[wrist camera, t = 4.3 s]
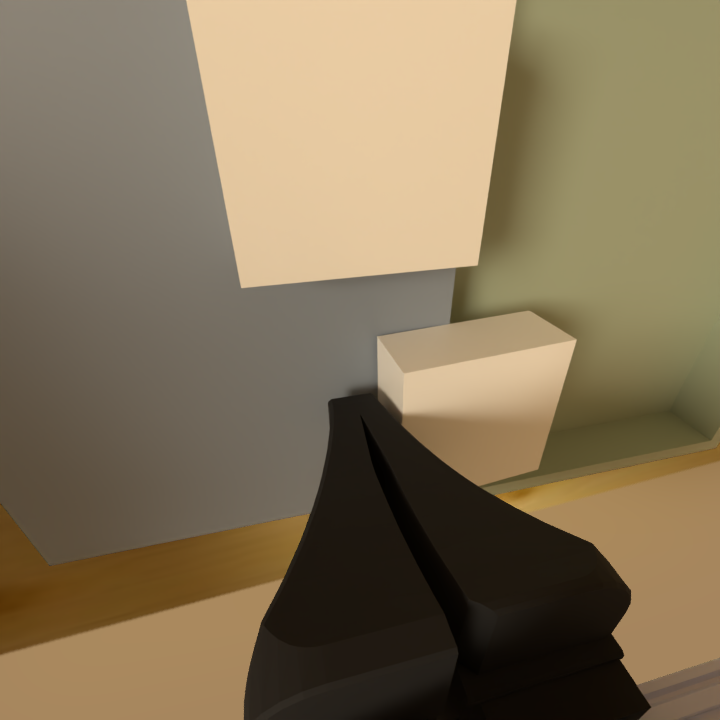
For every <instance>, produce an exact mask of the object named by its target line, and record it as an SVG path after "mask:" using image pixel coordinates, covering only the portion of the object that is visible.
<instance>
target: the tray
mask: <svg viewBox="0 0 720 720" xmlns="http://www.w3.org/2000/svg"><path fill="white" fill-rule="evenodd" d="M523 311H531V312H533V313H534V314H536V315H538V316H539V317H541V318H543V319H544V320H546V321H547V322H549V323H551V324H552V325H554V326H556V327H557V328H559V329H560V330H562V331H564V332H565V333H567V334H569V335H570V336H572V337H574V338H575V339H577V341H576V344H575V347H574V351H573V354H572V358H571V361H570V364H569V368H568V371H567V374H566V378H565V381H564V384H563V388H562V391H561V394H560V398H559V401H558V404H557V408H556V411H555V414H554V418H553V421H552V424H551V428H550V431H549V434H548V438H547V441H546V445H545V448H544V451H543V455H542V458H541V461H540V465H539V468H538V470H534V471H531V472H527V473H524V474H520V475H517V476H513V477H509V478H506V479H502V480H499V481H495V482H491V483H488V484H484V485H481V486H479V487H480V488H482V489H484V490H486V491H487V492H489V493H491V494H492V495H496V494H501V493H506V492H511V491H515V490H520V489H525V488H530V487H534V486H539V485H544V484H548V483H553V482H558V481H563V480H567V479H572V478H577V477H582V476H586V475H591V474H596V473H600V472H605V471H610V470H615V469H619V468H624V467H629V466H634V465H638V464H643V463H648V462H652V461H657V460H662V459H667V458H671V457H676V456H681V455H686V454H690V453H695V452H700V451H704V450H709V449H714V448H716V447H717V446H718V444H719V442H720V0H517V1H516V7H515V14H514V21H513V28H512V35H511V42H510V48H509V55H508V62H507V69H506V76H505V83H504V89H503V96H502V103H501V110H500V117H499V124H498V130H497V137H496V144H495V151H494V158H493V164H492V171H491V178H490V185H489V192H488V199H487V205H486V212H485V219H484V226H483V233H482V240H481V246H480V253H479V260H478V265H477V266H467V267H456V272H455V281H454V289H453V298H452V307H451V315H450V324H453V323H459V322H464V321H470V320H476V319H482V318H488V317H494V316H500V315H505V314H511V313H517V312H523Z"/></svg>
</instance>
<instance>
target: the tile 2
mask: <svg viewBox="0 0 720 720" xmlns="http://www.w3.org/2000/svg"><path fill="white" fill-rule="evenodd" d="M576 341H577V339H575V338H574V337H572V336H570V335H569V334H567V333H565V332H564V331H562V330H560V329H559V328H557V327H556V326H554V325H552V324H551V323H549V322H547V321H546V320H544V319H543V318H541V317H539V316H538V315H536V314H534V313H533V312H531V311H523V312H517V313H511V314H505V315H500V316H494V317H488V318H482V319H476V320H470V321H464V322H459V323H453V324H447V325H441V326H435V327H429V328H424V329H418V330H412V331H406V332H400V333H394V334H388V335H383V336H377V358H378V401H379V402H380V403H381V404H382V405H383V406H384V407H385V408H386V409H387V411H388V412H389V413H390V414H391V415H392V416H393V417H394V418H395V419H396V420H397V421H398V422H399V423H400V424H401V425H402V426H403V427H404V428H405V429H406V430H407V431H408V432H410V433H411V434H412V435H413V436H414V437H415V438H416V439H417V440H418V441H419V442H420V443H422V444H423V445H424V446H425V447H426V448H427V449H428V450H430V451H431V452H432V453H433V454H434V455H436V456H437V457H438V458H439V459H441V460H442V461H443V462H444V463H446V464H447V465H448V466H450V467H451V468H452V469H454V470H455V471H457V472H458V473H459V474H461V475H462V476H464V477H465V478H467V479H468V480H470V481H471V482H473V483H474V484H476V485H477V486H481V485H484V484H488V483H491V482H495V481H499V480H502V479H506V478H509V477H513V476H517V475H520V474H524V473H527V472H531V471H534V470H538V468H539V465H540V461H541V458H542V455H543V451H544V448H545V445H546V441H547V438H548V434H549V431H550V428H551V424H552V421H553V418H554V414H555V411H556V408H557V404H558V401H559V398H560V394H561V391H562V388H563V384H564V381H565V378H566V374H567V371H568V368H569V364H570V361H571V358H572V354H573V351H574V347H575V344H576Z"/></svg>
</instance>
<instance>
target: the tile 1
mask: <svg viewBox="0 0 720 720" xmlns="http://www.w3.org/2000/svg"><path fill="white" fill-rule="evenodd" d="M516 1H517V0H186V2H187V7H188V13H189V18H190V23H191V28H192V33H193V39H194V44H195V49H196V54H197V60H198V65H199V70H200V75H201V81H202V86H203V91H204V96H205V102H206V107H207V112H208V117H209V122H210V128H211V133H212V138H213V143H214V149H215V154H216V159H217V164H218V170H219V175H220V180H221V185H222V191H223V196H224V201H225V206H226V211H227V217H228V222H229V227H230V232H231V238H232V243H233V248H234V253H235V259H236V264H237V269H238V274H239V279H240V285H241V288H248V287H258V286H269V285H279V284H289V283H300V282H310V281H321V280H331V279H342V278H352V277H362V276H373V275H383V274H394V273H404V272H414V271H425V270H435V269H446V268H456V267H467V266H477V265H478V260H479V253H480V246H481V240H482V233H483V226H484V219H485V212H486V205H487V199H488V192H489V185H490V178H491V171H492V164H493V158H494V151H495V144H496V137H497V130H498V124H499V117H500V110H501V103H502V96H503V89H504V83H505V76H506V69H507V62H508V55H509V48H510V42H511V35H512V28H513V21H514V14H515V7H516Z"/></svg>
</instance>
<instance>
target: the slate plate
mask: <svg viewBox="0 0 720 720" xmlns="http://www.w3.org/2000/svg"><path fill="white" fill-rule="evenodd" d="M455 272H456V268H446V269H435V270H425V271H414V272H404V273H394V274H383V275H373V276H362V277H352V278H342V279H331V280H321V281H310V282H300V283H289V284H279V285H269V286H258V287H248V288H241V285H240V279H239V274H238V269H237V264H236V259H235V253H234V248H233V243H232V238H231V232H230V227H229V222H228V217H227V211H226V206H225V201H224V196H223V191H222V185H221V180H220V175H219V170H218V164H217V159H216V154H215V149H214V143H213V138H212V133H211V128H210V122H209V117H208V112H207V107H206V102H205V96H204V91H203V86H202V81H201V75H200V70H199V65H198V60H197V54H196V49H195V44H194V39H193V33H192V28H191V23H190V18H189V13H188V7H187V2H186V0H0V503H1V505H2V506H3V507H4V509H5V510H6V511H7V512H8V514H9V515H10V516H11V517H12V519H13V520H14V521H15V523H16V524H17V525H18V526H19V528H20V529H21V530H22V531H23V533H24V534H25V535H26V537H27V538H28V539H29V540H30V542H31V543H32V544H33V546H34V547H35V548H36V549H37V551H38V552H39V553H40V554H41V556H42V557H43V558H44V560H45V561H46V562H47V563H48V565H49V566H52V565H57V564H62V563H67V562H72V561H77V560H82V559H87V558H92V557H97V556H102V555H107V554H112V553H117V552H122V551H126V550H131V549H136V548H141V547H146V546H151V545H156V544H161V543H166V542H171V541H176V540H181V539H186V538H191V537H196V536H201V535H206V534H211V533H216V532H220V531H225V530H230V529H235V528H240V527H245V526H250V525H255V524H260V523H265V522H270V521H275V520H280V519H285V518H290V517H295V516H300V515H305V514H310V513H311V511H312V508H313V505H314V502H315V498H316V495H317V492H318V488H319V485H320V481H321V477H322V472H323V468H324V463H325V458H326V453H327V447H328V439H329V430H330V425H329V413H328V402H329V401H330V400H331V399H335V398H341V397H348V396H354V395H361V394H368V393H371V394H373V395H374V396H375V397H376V398H377V400H378V358H377V336H383V335H388V334H394V333H400V332H406V331H412V330H418V329H424V328H429V327H435V326H441V325H447V324H450V315H451V307H452V298H453V289H454V281H455Z"/></svg>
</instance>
